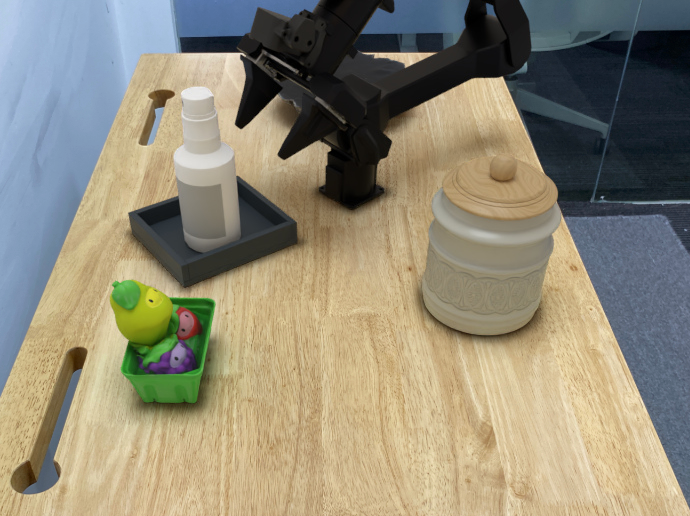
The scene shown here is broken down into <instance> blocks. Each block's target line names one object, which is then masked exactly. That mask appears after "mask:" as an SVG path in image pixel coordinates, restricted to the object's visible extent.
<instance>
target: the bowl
mask: <svg viewBox="0 0 690 516" xmlns="http://www.w3.org/2000/svg"><path fill="white" fill-rule="evenodd" d="M357 51H358V53H357V54H356V56H355V57H354V59H352V58H350V57H348V56H346V57H345V58H344V60H343V61H342V63H341V64H340V66H339V67H338V69H337V70H336V72H335V73H334V75H333V76H335V77H337V78H338V79H342V78H343V77H345V76H346V75H349V74H354V75H356V76H358V77H360V78H362V79H363V80H365V81H367V82H369V83H374V82H376V81H378V80H381V79H383V78H385V77H387V76H389V75H391V74H393V73H395V72H397V71H400V70H402V69H404V68H406V64H405V63H404V62H401V61H398V60H395V59H391V58H389V57H375V56H376V55H375V53H372V54H371V53H363V52H362V51H360V50H358V49H357ZM293 74H295V73H293ZM295 75H296V74H295ZM310 79H311V78H310V77H307V79H306V80H308V81H309V80H310ZM274 80H275V81H276V82H277V83H278V84H279V85H281V86H282V87H283V89H282V90H281V91H280V92H279V93H278V95H277V96H278V97H279V98H280V99H281V100H282V101H283V102H284V103H285V104H288V105H290V106H293V107H294V110H295V111H296V113H297V114H298V115H300V113H301V110H302V93H303V92H304V93H305V94H307V95H309V96H310V97H312V98H314V97H315V95H313V94H312V93H311V92H309V91H308V90H306V89H304V88H303V87H301V86H299V85H298V84H296V83H294V82H293V81H291V80H289V79H287V80H285V81H283V82H279V81H278V80H276V79H274Z"/></svg>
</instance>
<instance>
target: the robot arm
mask: <svg viewBox="0 0 690 516" xmlns="http://www.w3.org/2000/svg"><path fill="white" fill-rule="evenodd" d="M487 5H489V6H492V9H493V12H494V15H492V14H490V13H488V9H487ZM395 8H396V7H395V0H319V1H318V2H317V4H316V5H315V6H314V8H313V10H312V11H310V10H307V9H305V8H304V9H303V10H300V11H299V12H298V14H297V13H294V14H293V16H292V17H289V16H288V15H284V14H281V13H279V12H276V11H272V10H269V9H267V8H264V7H261V6H257V8H256V11H255V14H254V18H253V21H252V24H251V27H250V31H249V32H246V33H244V34H243V36H242V37H241V40H240V41H239V43H238V44H237V46H236V49H237V50H238V51H239V52H241V53H242V54H239V60H240V61H241V62H242V65H243V69H244V74H245V79H244V83H243V89H242V94H241V98H240V100H239V105H238V109H237V112H236V115H235V121H234V126H235V127H236V128H238V129H239V130H243V129H244V128H245V127H247V126H248V125H249V124H250V123H251V122H252V121H253V120H254V119H255V118H256V117H257V116H258V115H259V114H260V113H262V112H263V110H265V108H266V107H267V106H268V105H269V104H270V102H272V101H273V100H274V99H275V98H276V97H277V96H279V95H278V93H279V92H280V91H281V90H282V89H283V87H282V86H281V85H279V84H278V83H277V82H276V81H275V80H274V79H276V80H278V81H279V82H283V81H285V80H287V79H289V80H291V81H293V82H294V83H296V84H298V85H299V86H301V87H303V88H304V89H306V90H308V91H309V92H311V93H312V94H313V95H315V97H314V98H312V97H310V96H309V95H307V94H305V93H304V92H303V93H302V110H301V113H300V114H298V116H297V118H296V120H295V122H294V123H293V125H292V126H291V128H290V130H289V132H288V133H287V135H286V137H285V138H284V141H283V142H282V144H281V146H280V148H279V149H278V153H277V157H278V158H279V159H281V160H282V161H286V160H287V159H289V158H291V157H292V156H295V155H296V154H298V153H299V152H301V151H303V150H304V149H306V148H308V147H309V146H311V145H313V144H314V143H317V142H318V141H319V142H320V143H322V144H325V145H326V146H328V147H329V148H330V150H329V151H327V152H326V165H325V171H324V172H325V174H324V175H325V176H324V178H325V179H324V183H325V184H322V185H320V186H319V187H318V192H319V193H320V194H322V195H324V196H325V197H328V198H329V199H331V200H333V201H335V202H336V203H338V204H340V205H341V206H344V207H345V208H348V209H350V210H354V209H356V208H358V207H361V206H362V205H364V204H366V203H367V202H368V203H369V202H370V201H372V200H373V199H376V198H377V197H379V196H381V195H383V194H385V192H386V189H385V188H384V187H383V186H381V185H379V184H377V178H378V177H377V176H378V165H379V163H380V161H382V160H383V159H386V158H388V156H389V154H390V151H391V148H392V146H393V145H392V144H393V141H392V139H391V138H390V137H389V136H388V135H386V134H385V133H384V131H385V130H386V128H387V126H388V124H389V122H390V121H391V120H392V119H394V118H396V117H399V116H400V115H402V114H404V113H406V112H409V111H410V110H412V109H415V108H416V107H419V106H420V105H423V104H425V103H427V102H429V101H430V100H433V99H434V98H437V97H438V96H441V95H443V94H445V93H446V92H449V91H451V90H452V89H455V88H456V87H459V86H461V85H463V84H464V83H467V82H469V81H471V80H473V79H500V78H502V77H507V76H509V75H513V74H516V73H517V72H519V71H520V70H522V68H523V67H524V66H525V64H526V63H527V62H528V60H529V58H530V57H531V53H532V48H533V47H532V46H533V45H532V36H531V26H530V25H531V24H530V20H529V17H528V15H527V13H526V10H525V9H524V7H523V5H522V2H521V1H520V0H469V1H468V4H467V7H466V10H465V13H464V16H463V21H464V26H465V28H463V30H462V31H461V34H460V35H459V37H458V39H457V41H456V43H454V44H453V45H450V46H447V47H446V48H444V49H441V50H439V51H437V52H436V53H433V54H431V55H429V56H427V57H425V58H423V59H421V60H418V61H416V62H415V63H412V64H410V65H408V66H405V68H404V69H402V70H400V71H397V72H395V73H393V74H391V75H389V76H387V77H385V78H383V79H381V80H378V81H376V82H374V83H369V82H367V81H365V80H363V79H362V78H360V77H358V76H356V75H354V74H349V75H346V76H345V77H343V78H342V79H338V78H337V77H335V76H333V75H334V73H335V72H336V70H337V69H338V67H339V66H340V64H341V63H342V61H343V60H344V58H345V57H346V56H348V57H350V58H352V59H354V57H355V56H356V54H357V53H358V51H359V50H358V49H357V48H356V47H355V46H354V45H355V43H356V41H358V39H359V37H360V36H361V34H362V32H363V31H364V29H365V28H366V27H367V25H368V24H369V22H370V21H371V19H372V18H373V16H374V14H375V13H376V12H377V10H378V9H380V10H381V11H384V12H386V13H388V14H393V13H394V12H395V10H396V9H395ZM357 50H358V51H357ZM293 73H295V74H296V75H295V74H293ZM307 77H310V78H311V79H310V80H309V81H308V80H306V79H307Z"/></svg>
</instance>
